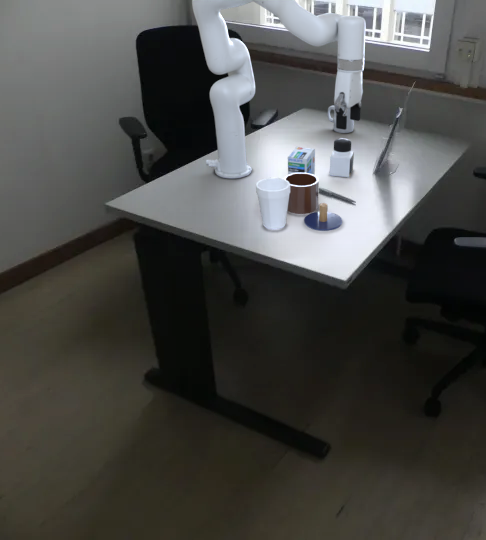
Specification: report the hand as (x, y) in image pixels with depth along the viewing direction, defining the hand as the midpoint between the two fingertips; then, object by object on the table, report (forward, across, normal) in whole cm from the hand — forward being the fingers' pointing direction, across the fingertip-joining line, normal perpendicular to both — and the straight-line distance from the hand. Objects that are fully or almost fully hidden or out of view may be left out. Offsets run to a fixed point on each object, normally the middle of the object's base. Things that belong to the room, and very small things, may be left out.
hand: (348, 124), depth 159 cm
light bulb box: (+24, -2, -17) cm, 29 cm away
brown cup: (+23, +15, -8) cm, 29 cm away
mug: (+23, -59, -31) cm, 71 cm away
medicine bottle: (+24, -16, -9) cm, 30 cm away
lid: (+23, +20, +2) cm, 31 cm away
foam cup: (+24, +29, -9) cm, 38 cm away
